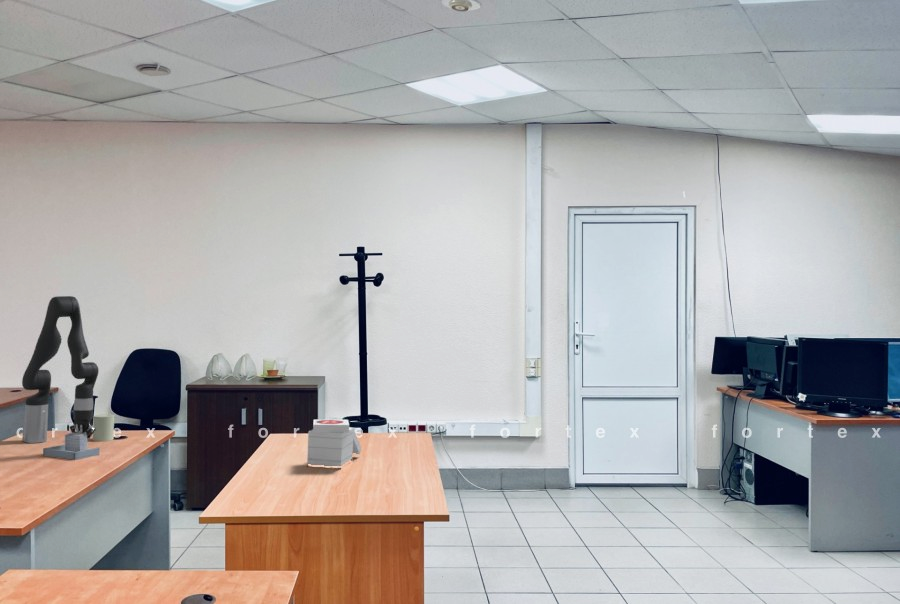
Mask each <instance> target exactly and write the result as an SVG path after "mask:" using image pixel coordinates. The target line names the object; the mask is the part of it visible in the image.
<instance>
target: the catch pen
mask: <svg viewBox="0 0 900 604" xmlns="http://www.w3.org/2000/svg"><path fill="white" fill-rule="evenodd" d="M42 449H43V450H42V456H45V457H52V458H58V459H66V460H71V461H72V460H73V461H76V460H81V459H85V458H91V457H95V456H100V447H94V448H93V447H92V448H88V449H87V450H83V451H78V452H73V451H65V443H64V444H60V445H55V446H54V445H53V446H49V447H44V448H42Z"/></svg>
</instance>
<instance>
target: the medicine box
mask: <svg viewBox="0 0 900 604" xmlns="http://www.w3.org/2000/svg"><path fill="white" fill-rule="evenodd" d="M64 444H65V451H73V452H78V451H83V450H87V449H89V447H88V445H89V444H88V439H87V434H83V433H72V432H70V433H67V434H64Z"/></svg>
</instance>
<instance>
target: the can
mask: <svg viewBox="0 0 900 604" xmlns="http://www.w3.org/2000/svg"><path fill="white" fill-rule="evenodd" d="M115 416H116V415H115V414H110V413H101V414H100V413H99V414H93V422H92V424H93V426H92V427H93V428H96V430H95V431H94V433H93V434H92V439H91V440H92V441H94V442H109V441H113V440H114V433H115V432H114V429H115V428H114V427H115Z"/></svg>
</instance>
